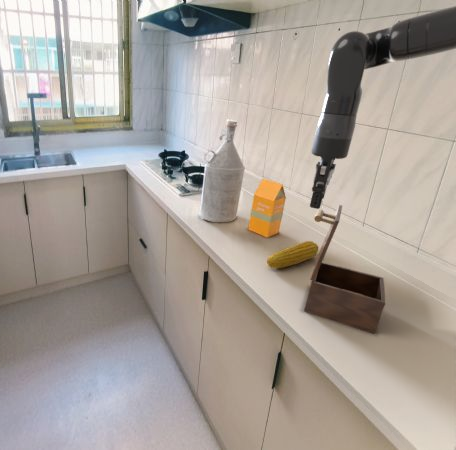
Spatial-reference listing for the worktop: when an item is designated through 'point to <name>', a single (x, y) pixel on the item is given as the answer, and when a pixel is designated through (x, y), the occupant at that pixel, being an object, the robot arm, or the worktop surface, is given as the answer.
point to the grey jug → (222, 180)
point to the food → (293, 255)
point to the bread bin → (347, 297)
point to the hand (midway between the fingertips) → (316, 202)
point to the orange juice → (267, 208)
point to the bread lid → (328, 237)
